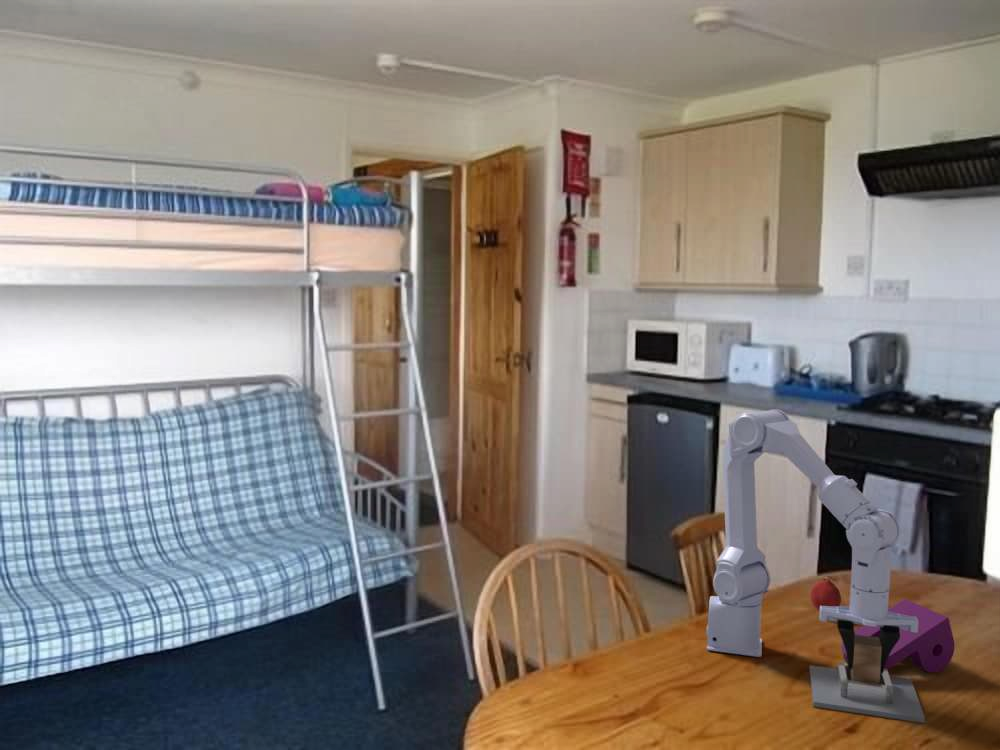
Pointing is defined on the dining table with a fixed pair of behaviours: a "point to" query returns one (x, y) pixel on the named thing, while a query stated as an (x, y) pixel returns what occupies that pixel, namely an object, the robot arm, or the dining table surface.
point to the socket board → (865, 694)
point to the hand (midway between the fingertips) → (864, 668)
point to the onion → (825, 594)
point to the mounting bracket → (918, 638)
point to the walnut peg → (866, 659)
